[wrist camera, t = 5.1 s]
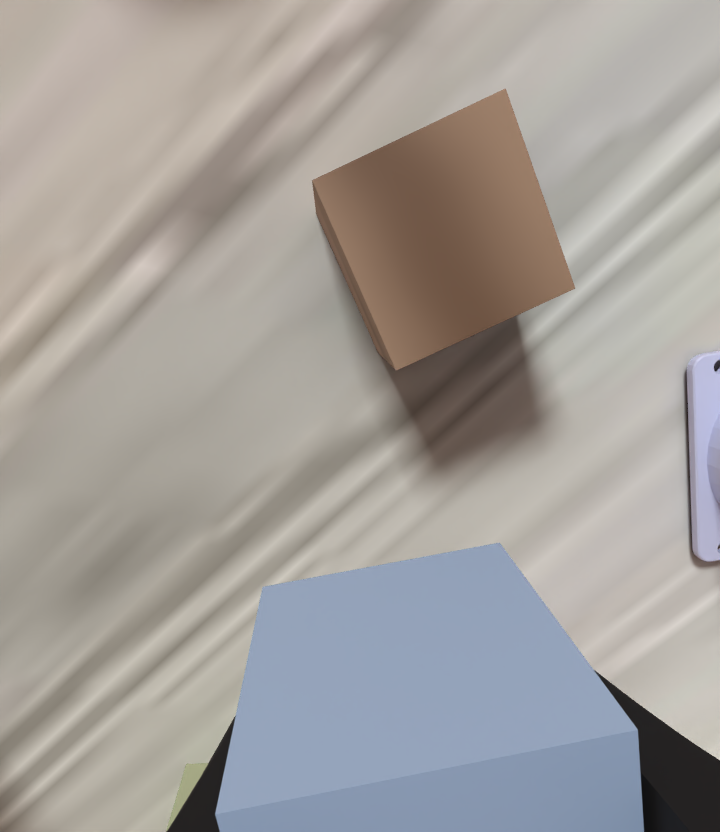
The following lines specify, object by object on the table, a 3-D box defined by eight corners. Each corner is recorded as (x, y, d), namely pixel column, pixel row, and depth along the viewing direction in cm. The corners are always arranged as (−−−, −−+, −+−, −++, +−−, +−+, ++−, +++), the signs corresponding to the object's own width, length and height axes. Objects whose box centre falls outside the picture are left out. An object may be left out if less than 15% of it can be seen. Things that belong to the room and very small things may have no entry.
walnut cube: (455, 148, 17) (505, 88, 12) (509, 291, 18) (575, 288, 14) (316, 214, 18) (311, 180, 13) (378, 352, 19) (396, 370, 14)
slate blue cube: (499, 542, 11) (637, 730, 6) (523, 741, 12) (656, 1033, 7) (262, 586, 11) (214, 813, 6) (307, 784, 12) (297, 1111, 7)
